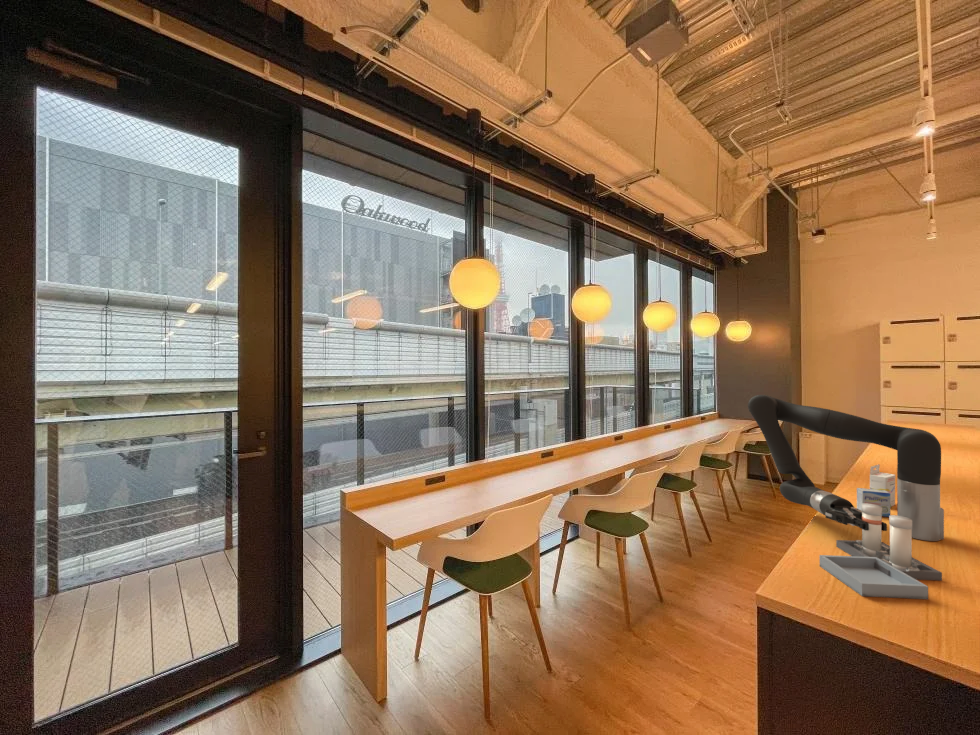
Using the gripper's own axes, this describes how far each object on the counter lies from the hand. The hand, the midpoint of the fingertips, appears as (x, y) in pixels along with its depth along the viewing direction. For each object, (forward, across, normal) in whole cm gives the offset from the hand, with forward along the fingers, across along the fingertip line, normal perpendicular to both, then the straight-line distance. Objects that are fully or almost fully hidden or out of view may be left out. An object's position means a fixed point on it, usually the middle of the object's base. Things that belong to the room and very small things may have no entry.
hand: (876, 527), depth 112 cm
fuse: (+7, 0, +8) cm, 11 cm away
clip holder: (+3, 0, +8) cm, 9 cm away
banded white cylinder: (-2, 0, +8) cm, 9 cm away
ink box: (-45, +37, +9) cm, 59 cm away
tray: (+13, -12, +8) cm, 20 cm away
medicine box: (-35, +26, +9) cm, 44 cm away
